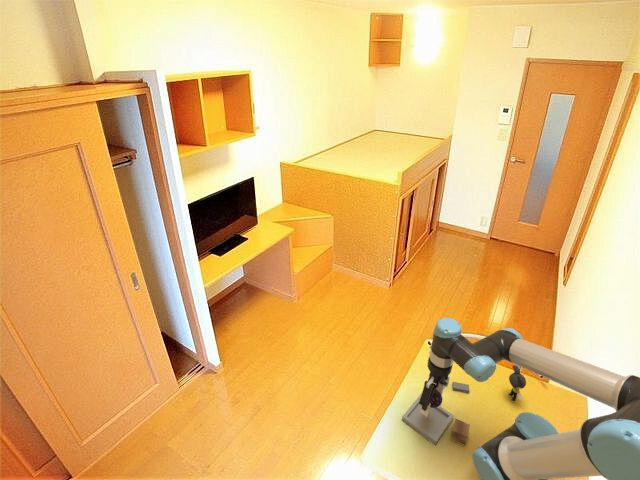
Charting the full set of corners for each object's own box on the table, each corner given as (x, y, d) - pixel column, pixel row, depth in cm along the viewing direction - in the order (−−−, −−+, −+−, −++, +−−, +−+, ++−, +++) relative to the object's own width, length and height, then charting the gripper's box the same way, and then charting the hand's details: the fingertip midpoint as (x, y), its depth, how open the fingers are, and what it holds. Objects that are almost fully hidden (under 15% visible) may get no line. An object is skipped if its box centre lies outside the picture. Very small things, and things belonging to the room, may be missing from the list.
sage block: (447, 385, 141) (449, 376, 139) (440, 389, 140) (442, 380, 137) (440, 378, 144) (442, 369, 142) (433, 381, 143) (435, 373, 140)
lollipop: (416, 409, 131) (421, 382, 124) (435, 410, 130) (441, 383, 123) (419, 426, 125) (424, 399, 118) (438, 428, 124) (445, 401, 117)
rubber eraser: (467, 388, 140) (468, 384, 139) (468, 394, 138) (469, 391, 137) (452, 384, 142) (453, 381, 141) (452, 391, 139) (453, 387, 138)
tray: (453, 419, 128) (454, 415, 127) (435, 445, 120) (436, 441, 119) (420, 397, 136) (421, 393, 135) (401, 420, 128) (402, 416, 127)
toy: (522, 408, 132) (534, 381, 124) (508, 408, 132) (518, 381, 125) (512, 389, 139) (522, 363, 132) (498, 389, 139) (508, 362, 132)
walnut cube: (467, 433, 124) (470, 424, 121) (464, 445, 120) (467, 436, 117) (452, 426, 126) (455, 418, 123) (449, 438, 122) (452, 430, 119)
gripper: (445, 336, 122) (435, 380, 133) (413, 372, 109) (405, 418, 120) (466, 347, 118) (454, 392, 129) (435, 387, 104) (425, 433, 115)
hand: (430, 404), depth 124 cm, fingers open, 9 cm apart
